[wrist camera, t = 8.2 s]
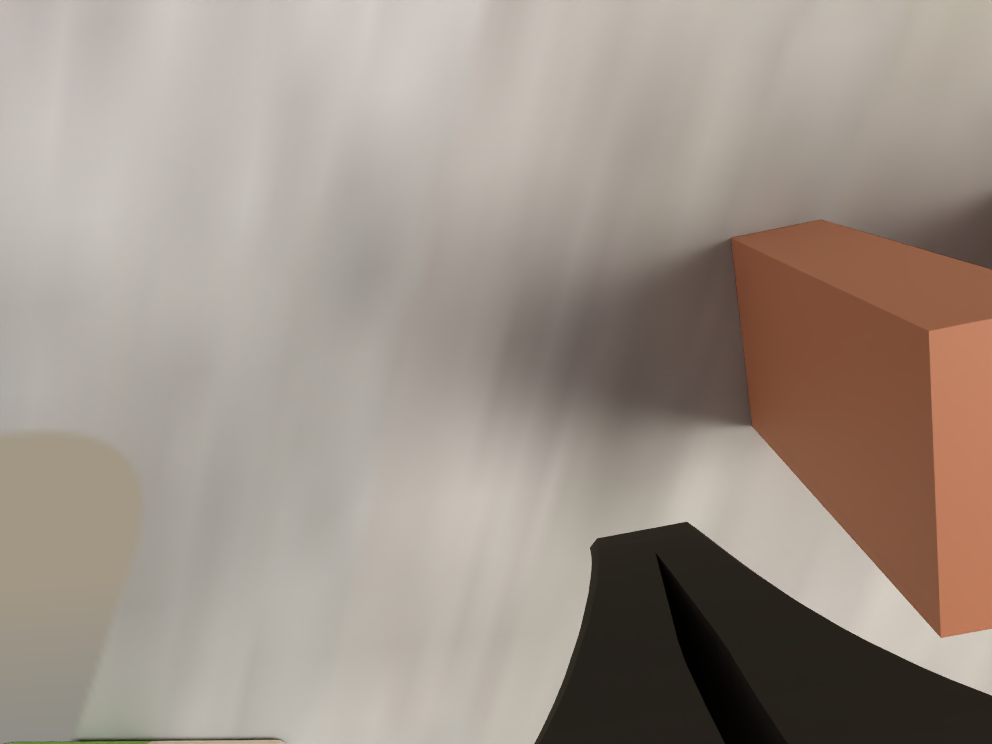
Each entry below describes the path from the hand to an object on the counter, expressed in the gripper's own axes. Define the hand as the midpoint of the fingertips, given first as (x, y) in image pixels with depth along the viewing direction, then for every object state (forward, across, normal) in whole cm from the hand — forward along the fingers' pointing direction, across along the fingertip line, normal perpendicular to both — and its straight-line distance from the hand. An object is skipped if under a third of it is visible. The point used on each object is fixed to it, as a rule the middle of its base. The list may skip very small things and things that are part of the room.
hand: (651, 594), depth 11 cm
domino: (+10, -6, 0) cm, 12 cm away
